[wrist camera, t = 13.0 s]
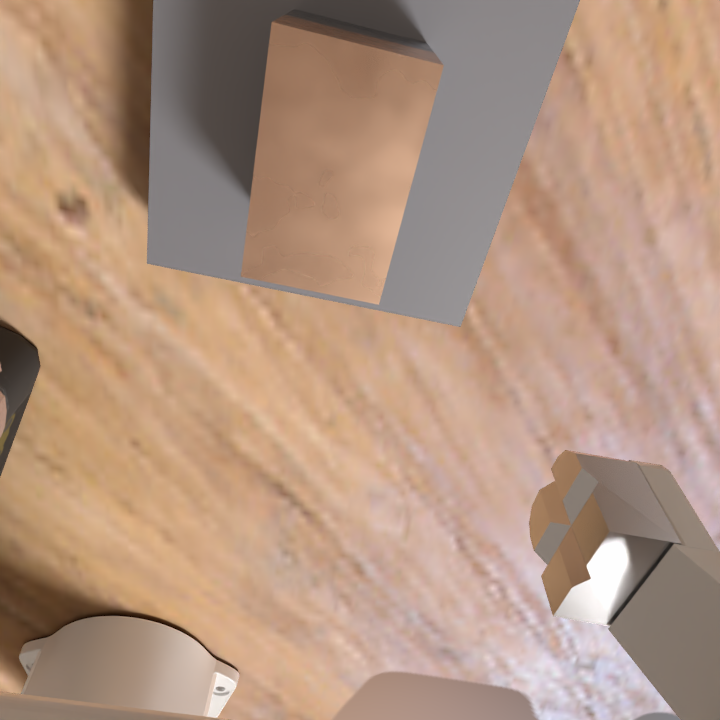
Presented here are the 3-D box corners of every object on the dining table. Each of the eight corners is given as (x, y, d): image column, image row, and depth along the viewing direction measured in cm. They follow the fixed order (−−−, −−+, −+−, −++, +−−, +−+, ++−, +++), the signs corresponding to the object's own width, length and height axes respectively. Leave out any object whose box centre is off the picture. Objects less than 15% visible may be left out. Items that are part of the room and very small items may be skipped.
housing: (427, 43, 22) (443, 65, 17) (377, 240, 26) (378, 304, 21) (294, 9, 22) (271, 21, 17) (265, 216, 26) (240, 276, 21)
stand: (450, 289, 32) (460, 326, 29) (171, 230, 30) (147, 263, 27) (561, -36, 24) (593, -36, 21) (188, -139, 22) (157, -157, 19)
